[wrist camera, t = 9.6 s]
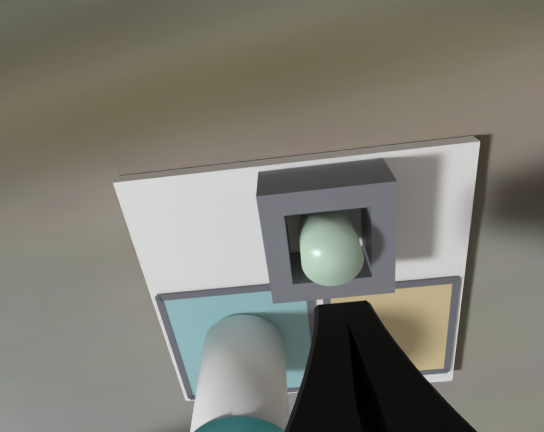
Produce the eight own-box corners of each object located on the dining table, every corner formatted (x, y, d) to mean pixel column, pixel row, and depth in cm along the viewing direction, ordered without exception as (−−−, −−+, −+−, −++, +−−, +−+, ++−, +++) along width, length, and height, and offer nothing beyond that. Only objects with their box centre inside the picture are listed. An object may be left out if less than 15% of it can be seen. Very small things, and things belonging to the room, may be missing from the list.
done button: (353, 246, 16) (364, 283, 14) (300, 251, 16) (304, 288, 14) (352, 199, 15) (363, 231, 13) (295, 205, 15) (298, 238, 13)
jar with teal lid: (293, 364, 20) (304, 505, 15) (216, 378, 20) (201, 520, 15) (275, 306, 18) (280, 444, 13) (191, 322, 18) (164, 463, 13)
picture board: (447, 370, 21) (468, 418, 19) (188, 390, 22) (177, 438, 19) (473, 135, 15) (508, 163, 13) (118, 176, 16) (91, 208, 14)
